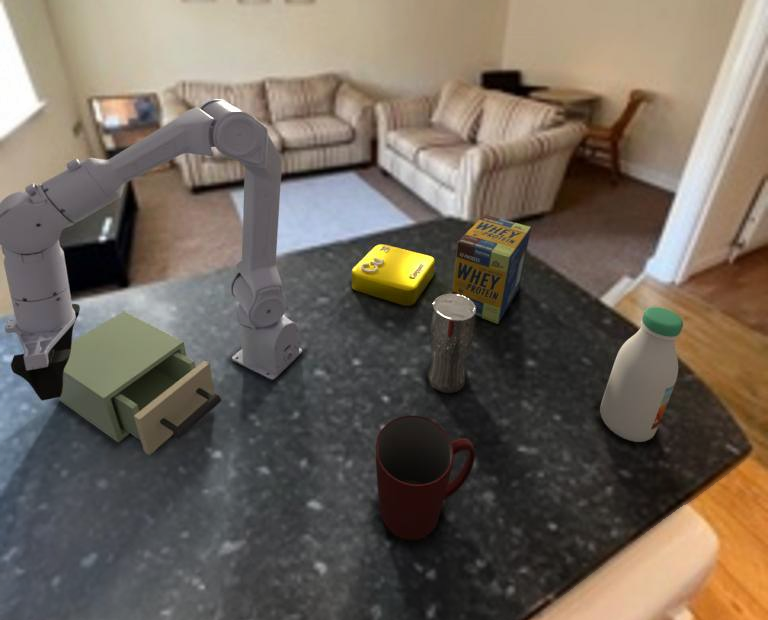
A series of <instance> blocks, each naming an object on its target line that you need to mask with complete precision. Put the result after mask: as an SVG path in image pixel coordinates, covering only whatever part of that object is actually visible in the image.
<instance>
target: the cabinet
mask: <svg viewBox="0 0 768 620" xmlns="http://www.w3.org/2000/svg"><path fill="white" fill-rule="evenodd" d="M175 352H178V353H180V354H182V355H184V356H185V357H187V358H188V356H187V352H186V347H185V343H184V341H183V340H181V339H179V338H177V337H175V336H173V335H172V334H170V333H168V332H166V331H164V330H162V329H160V328H158V327H156V326H154V325H152V324H150V323H148V322H146V321H144V320H142V319H140V318H138V317H136V316H135V315H133V314H131V313H129V312H127V311H123V312H121V313H119V314H117V315H115V316H114V317H112V318H111V319H109V320H107V321H105V322H103V323H102V324H100V325H98V326H96V327H95V328H93V329H91V330H89V331H88V332H86V333H84V334H83V335H81V336H79V337H77V338H75V339H73V340H72V345H71V353H70V357H69V360H68V362H67V364H66V366H65V368H64V377H63V389H62V394H61V396H60V397H58V400H59V401H60V402H61V403H62V404H64V405H65V406H67V408H69V409H71V410H72V411H74V413H76V414H78V415H79V416H80V417H82V418H83V419H84V420H85V421H87V422H89V423H90V424H91V425H93V426H94V427H96V428H97V429H98V430H100V431H101V432H103V433H104V434H106V435H107V436H108V437H110V438H111V439H113V440H114V441H115V442H117V443H120V442H121V441H122V440H124V439H125V438H126V437H127V436H129V435H130V434H131V433H129V432H128V431H126V430H125V429H124V428H122V427H121V426H119V423H118V420H117V417H116V414H115V411H114V407H113V404H112V401H111V398H112V397H113V396H115V395H116V394H118V393H119V392H120V391H122V390H123V389H125V388H126V387H127V386H129V385H130V384H132V383H133V382H134V381H136V380H137V379H138V378H140V377H141V376H143V375H144V374H145V373H147V372H148V371H150V370H151V369H152V368H154V367H155V366H157V365H158V364H159V363H161V362H162V361H163V360H165V359H166V358H168V357H169V356H170V355H172V354H173V353H175Z"/></svg>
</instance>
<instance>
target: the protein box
mask: <svg viewBox="0 0 768 620" xmlns="http://www.w3.org/2000/svg"><path fill="white" fill-rule="evenodd" d="M531 230H532V227H531V226H529V225H524V224H521V223H518V222H514V221H511V220H506V219H504V218H499V217H496V216H492V215H489V214H484V215H483V216H481V218H479V220H477V221H476V222H475V224H474V225H473V226H472V227H471V228H470V229H469V230H468V231H467V232H466V233H465V234H464V235H463V236H462V237H461V238H460V239H459V240H458V241H457V244H456V254H455V263H454V271H453V279H452V280H453V282H452V291H451V294H458V295H462V296H464V297H467V298H468V299H470V300H471V301H472V302H473V303H474V304H475V306H476V317H478V318H481V319H484V320H486V321H488V322H491V323H494V324H496V325H497V324H499V323H500V321H501V319H502V318H503V316H504V314H505V313H506V311H507V309H508V308H509V306H510V305H511V303H512V301H513V300H514V298H515V296H516V295H517V293H518V292H519V290H520V287H521V282H522V277H523V272H524V266H525V262H526V258H527V257H526V256H527V253H528V252H527V251H528V246H529V240H530V236H531ZM519 285H520V286H519ZM515 292H516V293H515Z"/></svg>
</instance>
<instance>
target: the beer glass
mask: <svg viewBox="0 0 768 620" xmlns="http://www.w3.org/2000/svg"><path fill="white" fill-rule="evenodd" d="M476 317H477V316H476V306H475V304H474V303H473V302H472V301H471V300H470V299H468V298H467V297H464V296H462V295H458V294H452V293H445V294H442V295H439V296H438V297H436V298H435V299H434V301H433V303H432V310H431V314H430V322H429V323H430V324H429V343H430V352H431V357H432V358H431V365H430V368H429V371H428V375H427V379H428V382H429V384H430V386H431V387H432V388H433V389H435V390H437V391H438V392H441V393H444V394H453V393H456V392H458V391H460V390H462V389H463V387H464V385H465V382H466V375H465V364H466V361H467V358H468V356H469V353H470V350H471V348H472V344H473V342H474V336H475V330H476Z"/></svg>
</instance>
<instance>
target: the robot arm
mask: <svg viewBox="0 0 768 620" xmlns="http://www.w3.org/2000/svg"><path fill="white" fill-rule="evenodd" d="M212 148H215V149H216V150H217V151H218V152H219V153H220V154H221V155H222V156H224V157H226V158H228V159H230V160H233V161H235V162H238V163H239V164H241V166H243V168H244V175H243V176H244V180H243V181H244V182H243V207H242V208H243V212H242V214H243V215H242V218H243V219H242V243H241V244H242V245H241V260H240V261H239V262H238V263H237V264H236V269H235V270H236V271H235V275H234V276H233V278H232V280H231V282H230V285H229V289H230V293H231V295H232V297H234V299H235V300H236V302H238V309H237V312H236V317H237V323H238V329H239V338H240V345H241V349H239V350H238V352H236V353H234V355H232V357H231V361H233V362H234V363H237V364H239V365H241V366H243V367H245V368H246V369H249V370H250V371H252V372H254V373H256V374H259V375H261V376H262V377H265V378H266V379H268V380H270V381H274V380H276V378H277V377H279V376H280V375H281V374H282V373H283V372H284V370H286V369H287V368H288V367H289V366H290V365H291V364H292V363H293V362H294V361H295V360H296V359H297V358H298V357H299V356H300V355H301V354H302V353H303V349H302V348H301V347H300V344H299V330H298V329H299V328H298V325H297V324H296V323H295V322H294V321H292V320H290V319H289V317H287V316H286V315H285V312H286V310H287V299H286V298H285V296H284V295H283V283H282V280H281V277H280V274H279V272H278V269H277V248H278V235H279V233H278V231H279V216H280V203H281V202H280V201H281V199H280V198H281V182H282V168H283V167H282V166H283V161H282V157H281V154H280V153H279V151H278V149H277V147H276V146H275V144H274V142H273V141H272V138H271V136H270V134H269V130H268V127H267V126H266V125H265V124H263V123H262V122H261V121H259V120H258V119H257V118H256V117H254V116H253V115H252V114H250V113H248V112H246V111H243V110H241V109H239V108H238V107H237V106H236V105H234V104H233V103H231V102H230V101H227V100H225V99H219V98H215V99H211V100H210V99H209V100H207V101H206V102H205V103H203V104H202V105H201V106H200V107H199V106H196V107H193V108H190V109H188V110H186V111H185V112H184V113H182V114H180V115H179V116H178V117H177V118H175V119H173V120H172V121H170V122H168V123H167V124H165V125H163V126H162V127H160V128H158V129H156V130H155V131H153V132H152V133H150V134H148V135H147V136H145V137H143V138H142V139H140V140H138V141H137V142H135V143H134V144H132V145H130V146H128V147H127V148H125V149H124V150H122V151H120V152H118V153H117V154H115V155H114V156H112V157H110V158H109V159H102V158H95V157H88V158H86V159H84V160H83V161H80V160H79V159H78V158H74V159H73V160H71V161H69V162H67V163H66V168H67V169H65V170H64V171H62V172H60V173H58V174H56V175H54V176H52V177H51V178H49V179H47V180H45V181H43V182H41V183H40V184H38V185H37V184H35V183H34V182H32V183H31V184H29V185H27V186H25V190H24V192H23V190H22V191H17V192H14V193H11V194H9V195H7V196H5V198H3V199H2V200H1V201H0V246H1V252H2V254H3V256H4V258H3V267H4V271H5V275H6V280H7V286H8V289H9V294H10V298H11V304H12V309H13V312H14V313H13V314H14V317H15V318H11V319H8V320H7V321H6V323H5V325H4V331H5V333H7V334H11V333H16V335H17V338H18V339H19V342H20V344H21V346H22V349H23V351H24V353H20V354H15V355H13V358H12V359H11V361H10V362H11V363H10V368H11V371H12V372H13V374H15V375H17V376H19V377H21V378H22V379H24V380H25V381H26V382H27V383H28V384H29V385H30V386H31V388H32V389H33V391H34V392H35V394H36V396H37V397H38V398H39V399H40V401H42V402H43V401H48V400H51V399H57V398H58V399H59V397H60V396H61V394H62V389H63V377H64V368H65V366H66V364H67V362H68V360H69V357H70V353H71V345H72V341H73V330H74V326H75V323H76V321H77V319H78V317H79V315H80V311H81V307H80V305H79V304H77V303H72V296H71V290H70V289H71V288H70V283H69V277H68V276H69V275H68V270H67V264H66V257H65V251H64V250H63V247H61V244H60V238H61V236H62V233H63V230H64V229H66V228H69V227H72V226H73V225H75V224H77V223H78V222H80V221H82V220H84V219H85V218H87V217H89V216H91V215H93V214H94V213H96V212H97V211H100V210H101V209H103V208H105V207H107V206H108V205H110V204H111V203H113V202H116V200H119V199H120V198H121V197H122V195H123V190H124V188H125V185H126V183H128V182H130V181H132V180H135V179H136V178H138V177H140V176H142V175H144V174H146V173H148V172H150V171H152V170H154V169H155V168H158V167H160V166H161V165H164V164H165V163H168V162H169V161H172V160H174V159H175V158H178V157H180V156H182V155H185V154H191V155H199V156H206V157H213V156H214V152H213V149H212Z"/></svg>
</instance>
